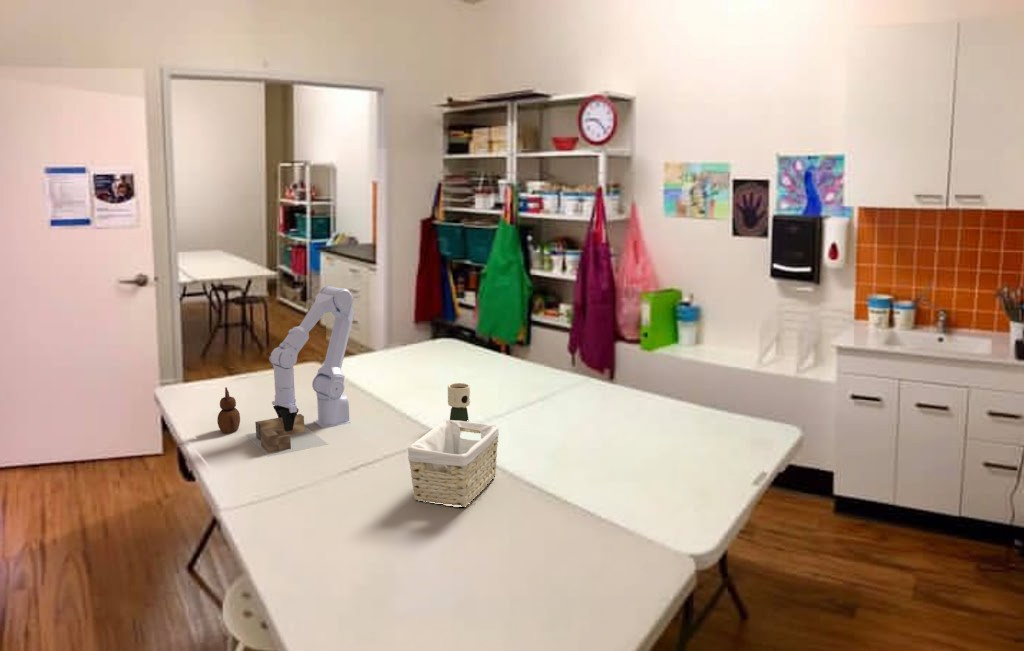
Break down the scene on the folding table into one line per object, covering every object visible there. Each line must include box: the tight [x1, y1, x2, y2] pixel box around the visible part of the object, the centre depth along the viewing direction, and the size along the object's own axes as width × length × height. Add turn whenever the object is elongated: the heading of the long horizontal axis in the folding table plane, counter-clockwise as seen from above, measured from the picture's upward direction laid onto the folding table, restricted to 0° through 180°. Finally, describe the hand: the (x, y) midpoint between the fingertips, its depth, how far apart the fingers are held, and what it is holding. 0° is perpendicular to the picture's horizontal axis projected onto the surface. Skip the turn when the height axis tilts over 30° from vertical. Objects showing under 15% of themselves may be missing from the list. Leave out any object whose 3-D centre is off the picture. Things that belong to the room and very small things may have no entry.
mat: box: [245, 425, 329, 457], centre depth 239 cm, size 18×22×1 cm
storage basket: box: [407, 419, 500, 507], centre depth 203 cm, size 24×16×15 cm
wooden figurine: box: [216, 386, 241, 435], centre depth 244 cm, size 7×6×15 cm
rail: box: [254, 413, 305, 440], centre depth 242 cm, size 14×3×5 cm, turn 125°
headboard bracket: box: [260, 428, 291, 453], centre depth 231 cm, size 6×7×5 cm
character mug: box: [447, 382, 471, 422], centre depth 253 cm, size 11×7×13 cm, turn 157°
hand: (286, 429), depth 243 cm, fingers closed on rail, 3 cm apart
